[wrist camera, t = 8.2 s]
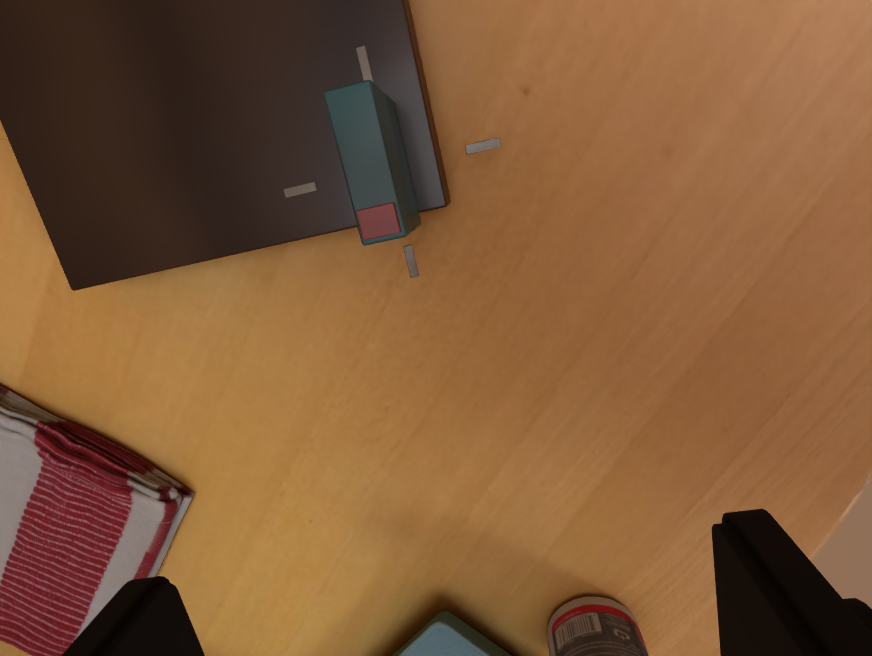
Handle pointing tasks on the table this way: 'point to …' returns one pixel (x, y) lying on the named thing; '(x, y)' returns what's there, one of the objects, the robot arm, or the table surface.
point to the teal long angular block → (373, 161)
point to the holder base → (200, 123)
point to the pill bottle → (594, 629)
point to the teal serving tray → (449, 640)
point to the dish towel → (72, 525)
